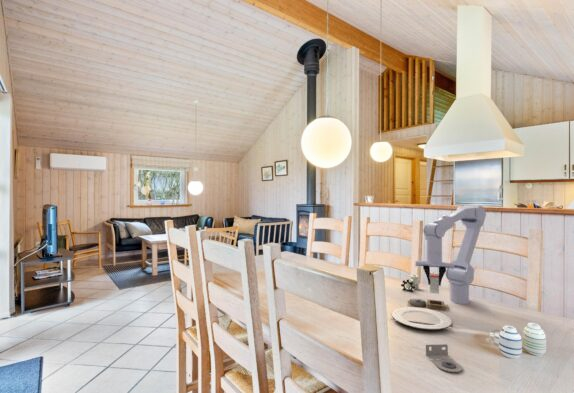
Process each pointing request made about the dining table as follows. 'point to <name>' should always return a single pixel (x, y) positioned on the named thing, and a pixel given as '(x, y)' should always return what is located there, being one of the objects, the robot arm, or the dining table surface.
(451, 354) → the dining table surface
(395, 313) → the plate
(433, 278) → the pin
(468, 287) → the robot arm
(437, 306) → the board
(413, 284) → the valve
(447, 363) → the bracket
